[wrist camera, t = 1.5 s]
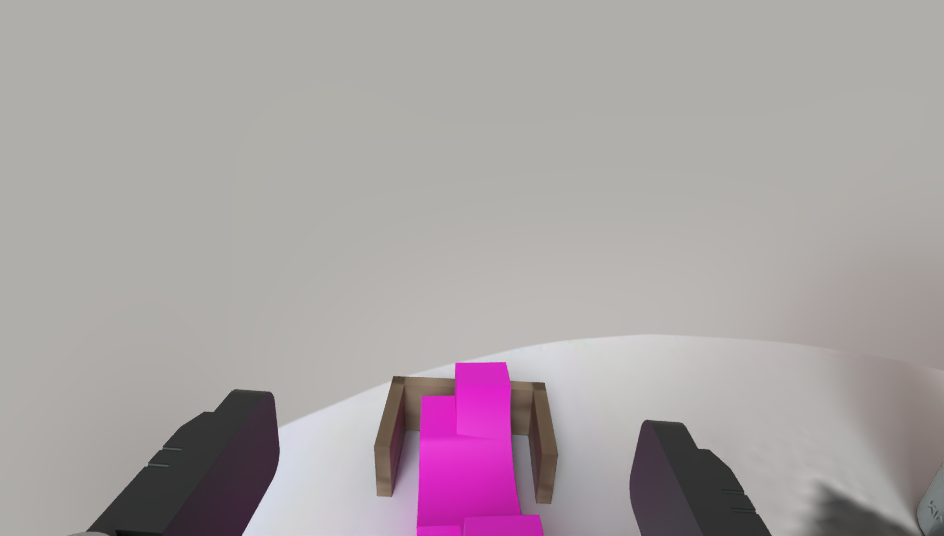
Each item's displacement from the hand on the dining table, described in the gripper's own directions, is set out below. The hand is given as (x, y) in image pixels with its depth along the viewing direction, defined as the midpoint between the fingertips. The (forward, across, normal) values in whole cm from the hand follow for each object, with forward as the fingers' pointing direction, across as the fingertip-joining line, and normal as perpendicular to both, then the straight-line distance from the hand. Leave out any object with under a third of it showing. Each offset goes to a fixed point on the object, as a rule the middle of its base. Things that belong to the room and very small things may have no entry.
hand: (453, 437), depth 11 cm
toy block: (+15, -1, +20) cm, 26 cm away
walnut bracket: (+21, 0, +20) cm, 29 cm away
